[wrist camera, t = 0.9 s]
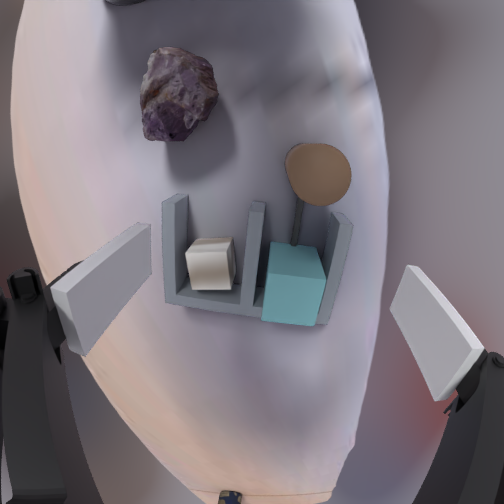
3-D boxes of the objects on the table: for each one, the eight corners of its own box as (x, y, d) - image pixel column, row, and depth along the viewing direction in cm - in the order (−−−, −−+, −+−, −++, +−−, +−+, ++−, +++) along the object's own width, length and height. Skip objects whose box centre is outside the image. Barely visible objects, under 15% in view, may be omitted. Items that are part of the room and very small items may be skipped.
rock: (156, 136, 32) (229, 133, 32) (123, 148, 25) (212, 144, 24) (154, 54, 26) (230, 45, 25) (119, 47, 19) (212, 29, 18)
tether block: (283, 140, 30) (286, 138, 19) (332, 147, 30) (361, 151, 19) (265, 281, 38) (259, 338, 27) (307, 286, 38) (316, 343, 27)
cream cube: (196, 238, 36) (185, 253, 32) (232, 236, 36) (226, 251, 31) (201, 271, 38) (192, 289, 34) (236, 271, 38) (230, 289, 33)
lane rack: (176, 193, 34) (161, 202, 29) (343, 213, 33) (353, 225, 29) (177, 284, 39) (165, 302, 35) (322, 304, 38) (327, 324, 34)
